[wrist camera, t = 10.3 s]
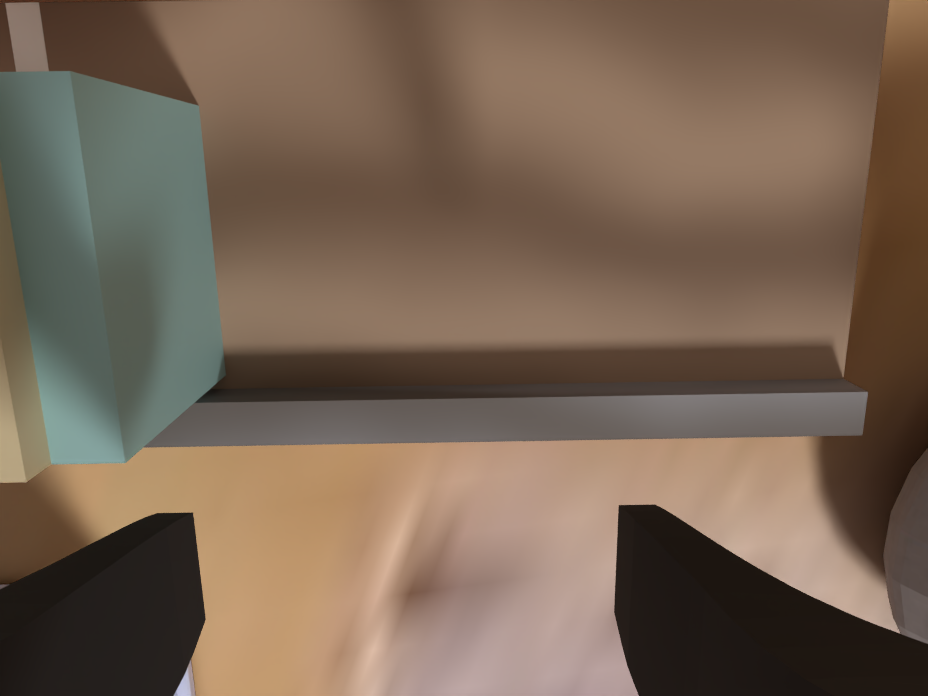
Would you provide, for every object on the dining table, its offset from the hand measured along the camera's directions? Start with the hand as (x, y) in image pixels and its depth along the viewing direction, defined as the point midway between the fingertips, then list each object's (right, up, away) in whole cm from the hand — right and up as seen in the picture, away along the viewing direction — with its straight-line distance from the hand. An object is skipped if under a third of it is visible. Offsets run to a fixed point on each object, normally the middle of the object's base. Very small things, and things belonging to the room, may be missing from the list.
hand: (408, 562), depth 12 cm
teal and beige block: (-8, +6, +7) cm, 12 cm away
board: (0, +7, +8) cm, 11 cm away
